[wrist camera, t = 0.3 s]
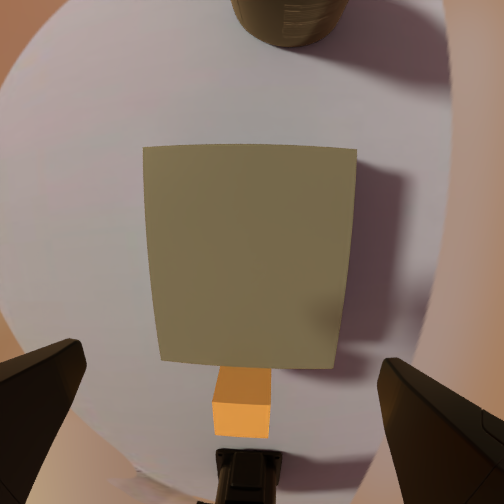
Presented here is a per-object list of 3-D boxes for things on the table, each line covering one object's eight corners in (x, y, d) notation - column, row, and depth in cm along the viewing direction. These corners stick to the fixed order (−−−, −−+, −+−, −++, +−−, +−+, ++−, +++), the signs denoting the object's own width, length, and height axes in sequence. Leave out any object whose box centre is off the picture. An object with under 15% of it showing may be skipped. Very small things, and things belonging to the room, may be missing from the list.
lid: (323, 384, 21) (332, 437, 16) (173, 377, 21) (153, 426, 17) (348, 149, 16) (377, 149, 11) (154, 147, 17) (114, 148, 12)
